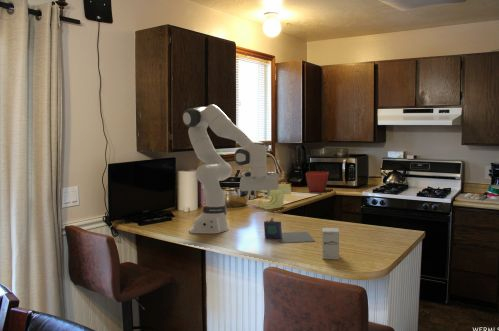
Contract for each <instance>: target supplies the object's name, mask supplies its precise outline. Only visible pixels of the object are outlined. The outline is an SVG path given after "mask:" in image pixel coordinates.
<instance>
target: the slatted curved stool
mask: <svg viewBox="0 0 499 331" xmlns="http://www.w3.org/2000/svg"><path fill="white" fill-rule="evenodd" d="M278 186H279V188H278V189H277V190H270V193H269V195H268V196H269V197H270V199H269V201H267V202H264V203H259V204H258V203H257V204H256V208H260V209H264V210H271V209H279V208H282V207H283V206H284V200H285V195H286V196H287V195H292V187H291V185H290V184H288V183H286V184H278ZM259 192H263V193H268V192H267V190H260V191H259Z"/></svg>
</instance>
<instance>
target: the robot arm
mask: <svg viewBox="0 0 499 331" xmlns="http://www.w3.org/2000/svg"><path fill="white" fill-rule="evenodd" d="M182 121H183V122H182V123H183V124H184V125H185V126H186V127H188V131H187V132H188V137H189V141H190V143H191V146H192V148H193V150H194V153H195V154H196V157H197V159H199V160H200V161H202V162H203V164H201V165H199V166H198V167H197V168H196V171H195V176H196V179H197V180H198V182H200V184H201V185H202V187H203V190H204V194H205V205H202V207H201V209H202V213H200V214H199V215H198V216H197V217H196V218H195V219H194V221H193V225H192V226H191V227H190V228H189V233H191V234H220V233H223V232H227V231H229V230H230V228H229V225H228V221H227V205H226V193H225V190H224V189H222V188H221V185H220V181H221V182H222V181H225V180H227V179H228V178H230V177H231V176H232V175H233V168H232V166H231V164H230V163H228V162H226V160H224V159H223V158H222V156H220V154H219V153H218V151H217V150H216V148H215V147H214V145H213V142H212V140H211V137H210V136H209V134H208V130H207V129H211V131H212V132H213V133H214V134H215V135H216V136H217V137H219V138H224V139H228V140H232V141H234V142H236V143H237V144H238V145H239V146H240V148H237V149H236V151H235V152H234V156H233V157H234V162H235V163H236V164H237V165H238V166H241V167H245V166H249V169H248V170H247V169H246V170H245V171H242V172H241V178H240V179H239V180H240V181H239V190H240V192H248V195H249V196H250V200H254V195H252V192H256V191H257V192H261V191H260V190H267V192H266V193H267V194H265V195H264V198H265V200H268V199H269V196H270V195H269V193H270V190H277V189H278V188H279V186H278V185H279V181H278V180H279V179H280V176H279V173H277V172H275V171H271V172H270V171H268V165H267V164H268V163H267V158H268V156H267V154H268V153H267V147H266V144H265V143H264V142H263V141H257V140H253V141H252V140H251V139H250V138H249V137H248V136H247V134H245V132H244V131H243V130H241V129H240V128H239V127H238V126H237V125H236V124H234V122H232V120H231V119H230V118H229V117H228V116H227V115H226V114H225V112H224V111H223V110H222V109H221V108H220V107H218V106H217V105H216V104H209V105H207V106H197V107H193V108H188V109H186V110H184V112H183V113H182Z"/></svg>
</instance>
